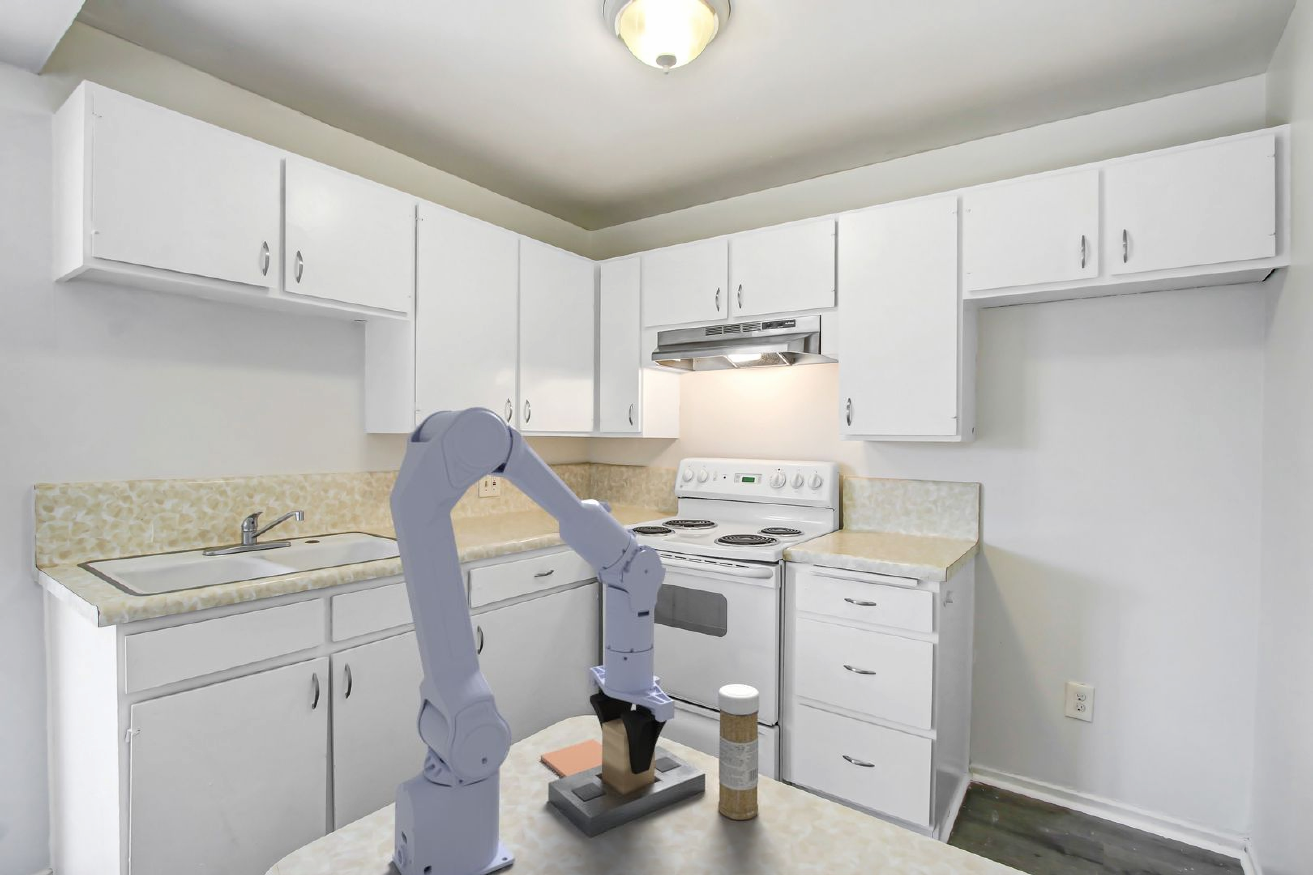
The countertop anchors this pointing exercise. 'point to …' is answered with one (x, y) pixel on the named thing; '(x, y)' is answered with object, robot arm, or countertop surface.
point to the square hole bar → (606, 808)
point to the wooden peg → (621, 760)
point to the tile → (575, 758)
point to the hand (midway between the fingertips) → (628, 762)
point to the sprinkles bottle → (738, 751)
